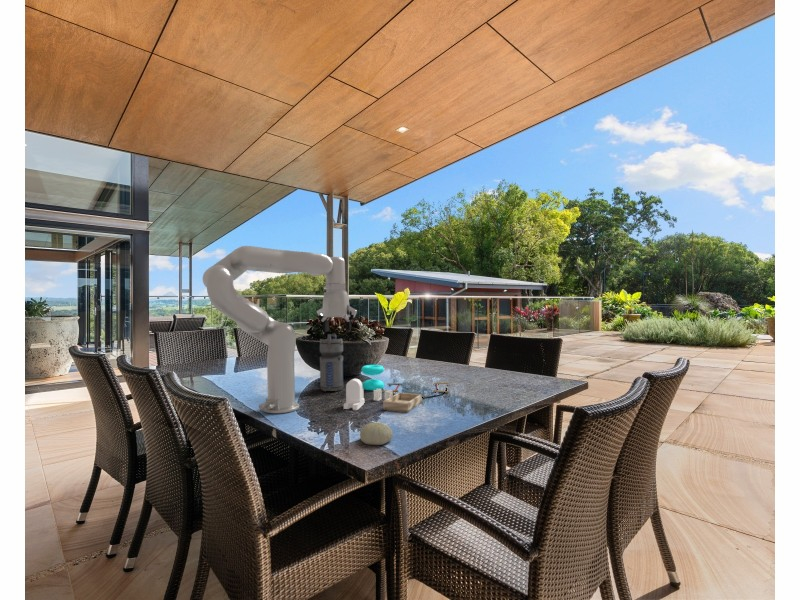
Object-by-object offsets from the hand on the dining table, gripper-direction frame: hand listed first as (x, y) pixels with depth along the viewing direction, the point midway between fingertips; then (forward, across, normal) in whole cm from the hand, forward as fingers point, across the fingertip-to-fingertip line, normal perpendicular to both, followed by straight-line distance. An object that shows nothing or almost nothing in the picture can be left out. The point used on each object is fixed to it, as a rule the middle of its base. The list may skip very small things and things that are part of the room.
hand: (337, 331), depth 160 cm
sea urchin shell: (+27, +32, -38) cm, 57 cm away
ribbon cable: (+28, +25, +22) cm, 44 cm away
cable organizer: (+27, +10, -7) cm, 30 cm away
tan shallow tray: (+27, +27, -1) cm, 39 cm away
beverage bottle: (+27, -12, +16) cm, 34 cm away
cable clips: (+27, +14, +3) cm, 31 cm away
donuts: (+28, +5, +23) cm, 36 cm away
